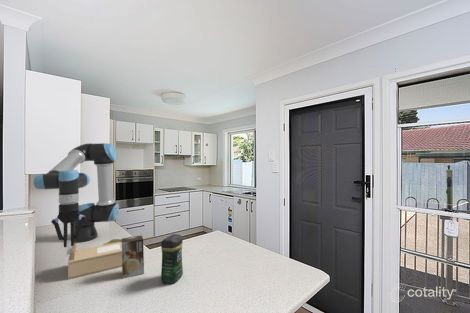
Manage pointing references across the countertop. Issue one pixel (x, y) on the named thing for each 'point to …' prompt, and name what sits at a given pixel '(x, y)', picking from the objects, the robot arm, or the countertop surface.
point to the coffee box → (132, 256)
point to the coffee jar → (171, 259)
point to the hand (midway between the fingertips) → (69, 253)
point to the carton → (113, 241)
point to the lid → (94, 252)
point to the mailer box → (94, 265)
